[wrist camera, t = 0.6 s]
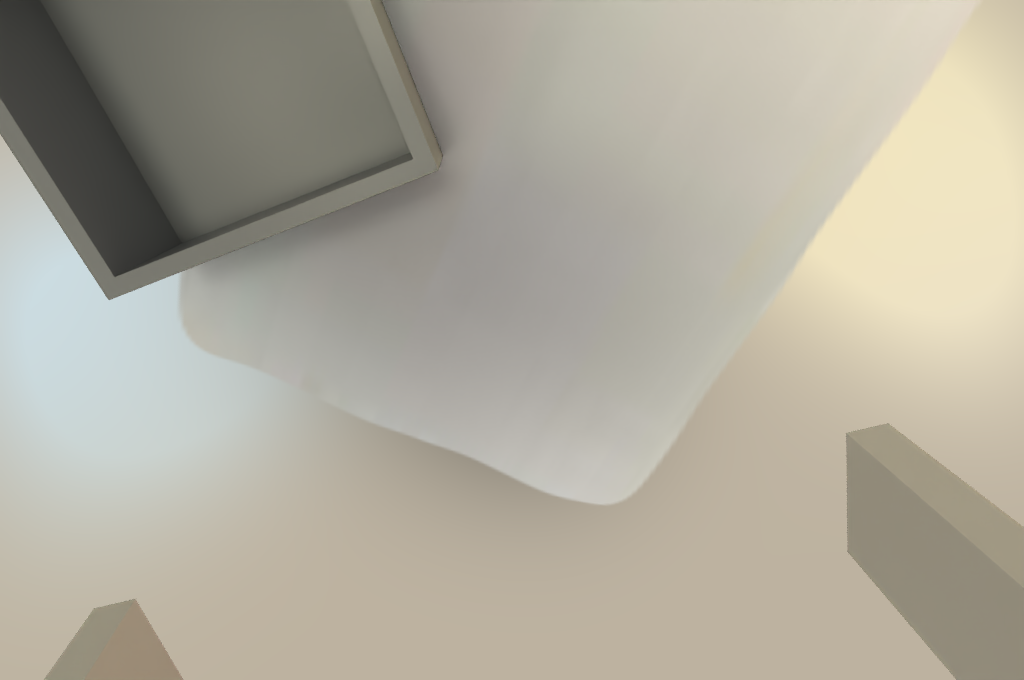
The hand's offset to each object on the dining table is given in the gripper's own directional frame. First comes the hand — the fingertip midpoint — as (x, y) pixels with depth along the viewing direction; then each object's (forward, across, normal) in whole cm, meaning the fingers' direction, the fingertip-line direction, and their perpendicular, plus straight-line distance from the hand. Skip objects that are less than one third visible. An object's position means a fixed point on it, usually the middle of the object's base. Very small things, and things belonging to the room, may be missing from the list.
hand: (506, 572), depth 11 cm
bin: (+26, -9, +12) cm, 30 cm away
